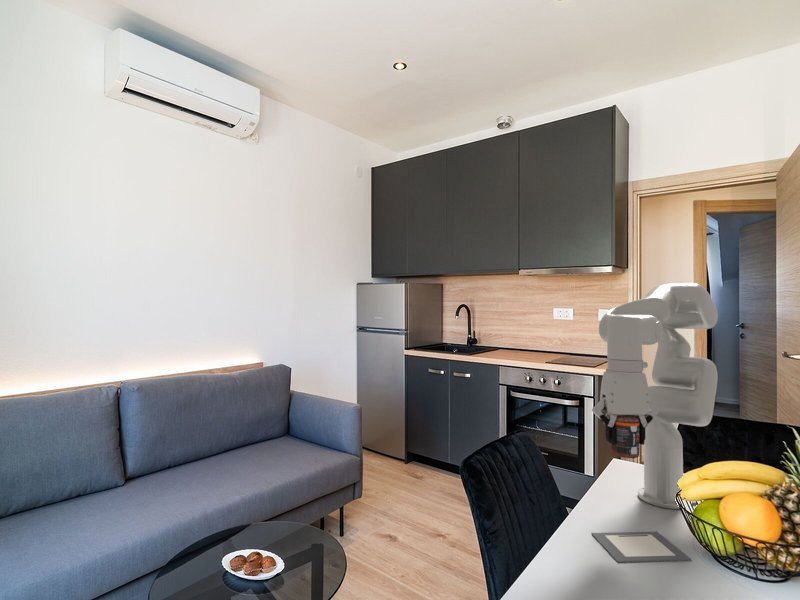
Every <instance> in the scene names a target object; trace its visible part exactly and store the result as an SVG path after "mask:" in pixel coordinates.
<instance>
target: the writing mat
mask: <svg viewBox="0 0 800 600" xmlns="http://www.w3.org/2000/svg"><path fill="white" fill-rule="evenodd" d="M591 535H592V537H593V538H594V539H595V540H596V541H597V543H599V544H600V545H601V546H602V547H603V548H604V549H605V551H606V552H608V554H609V555H610V556H611V558H613V559H614V560H615V561H616V562H617V563H621V564H623V563H651V562H652V563H653V562H655V563H656V562H657V563H658V562H659V563H661V562H692V560H693V559H692V558H690V556H688V555H687V554H686V553H685V552H683V551H682V550H681V549H680V548H678V547H677V546H676V545H675V544H674V543H672V542H671V541H670V540H668V539H667V538H666V537H665V536H663V535H662V534H661V533H660V532H659V531H657V530H656V531H621V532H620V531H619V532H618V531H615V532H614V531H613V532H591Z"/></svg>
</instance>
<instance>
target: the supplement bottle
mask: <svg viewBox="0 0 800 600" xmlns="http://www.w3.org/2000/svg"><path fill="white" fill-rule="evenodd" d="M614 427H615V428H616V444H611V454H613V455H614V456H616V457H619V458H623V459H637V458H639V457H640V452H641V451H640V445H641V444H640V443H639V419H638V418H637V417H636V416H633V415H624V416H623V415H617V418H616V420H615V423H614Z"/></svg>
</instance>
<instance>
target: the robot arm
mask: <svg viewBox="0 0 800 600" xmlns="http://www.w3.org/2000/svg"><path fill="white" fill-rule="evenodd" d="M718 312H719V311H718V308H717V305H716V304H715V302H714V300H713V298H712V296H711V295H710V293H709V292H708V291H707V289H706V288H705V287H704V286H703V285H701V284H699V283H696V282H694V283H693V282H689V283H688V282H685V283H684V282H683V283H665V284H660V285H657V286H654V287H653V288H652V289H651V290H650V291H648V293H647V294H646V295H645V296H643V298H640V299H636V300H633V301H629V302H626V303H623V304H620V305H617V306H615V307H612V308H610V309H609V310H608V311H607V312H606V313H605V314H604V315H603V316H602V318H601V319H600V322H599V325H598V333H599V336H600V338H601V340H602V341H604V342H605V343H606V345H607V346H606V347H607V350H606V351H607V353H606V355H607V361H606V362H607V363H606V364H607V367H606V368H607V370H606V371H603V374H602V378H601V385H600V391H599V392H600V395H599V401H598V402H597V403H596V404H595V405H594V407H592V409H591V412H592V413H593V414H594V415H595V416H596V417H597V418H598V419H599V420H600V421H601V422H602V423H603V425H605V438H606V440H607V442H608V443H610V444H611V445H612V444H616V428H615V427H614V423H615V420H616V418H617V415H623V416H624V415H633V416H636V417H637V418H638V419H639V443H640V444H639V445H643V481H644V482H643V487H641V488H640V489H638V491H637V493H638V497H639V498H640V499H641V500H642V501H643V502H646V503H648V504H650V505H652V506H656V507H659V508H664V509H671V510H672V509H673V510H674V509H675V510H678V509H679V507H678V505H677V503H676V501H675V494H676V493H677V492H679V491H680V489H679V488H678V486H677V482H678V480H679V479H680V478H681V477H682V476H683V477H684V458H683V457H684V455H683V450H684V449H683V448H684V447H683V445H684V444H683V443H684V442H683V438H682V435H681V433H680V431H679V430H678V428H677V427H676V426H675V424H681V425H687V426H693V427H694V426H695V427H706V426H708V425H709V424H710V423H711V421H712V419H713V416H714V415H713V414H714V408H715V402H716V395H717V387H718V379H719V378H718V376H719V375H718V370H717V366H716V364H715V363H714V362H713V361H712V360H711V359H708V358H705V357H698V356H697V357H694V356H691V351H692V350H691V349H692V347H691V344H690V343H689V342H688V340H687V339H686V338H685V337H684V336H683V335H682V334H681V333H679V332H678V331H677V329H679V330H709V329H712V328H714V327H715V326H716V325H717V323H718V318H719V313H718ZM654 344H657V349H656V353H655V355H654V356H655V358H654V361H653V366H652V370H651V371H652V372H651V378H652V381H653V382H654V384H655V385H651V386H650V385H649V384H648V379H647V376H646V373H644V372H643V371H644V369H646V368H647V369H648V362H646V361H644V360H643V346H652V345H654ZM602 411H603V412H606V414H604V413H603V412H602ZM679 510H680V509H679Z"/></svg>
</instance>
